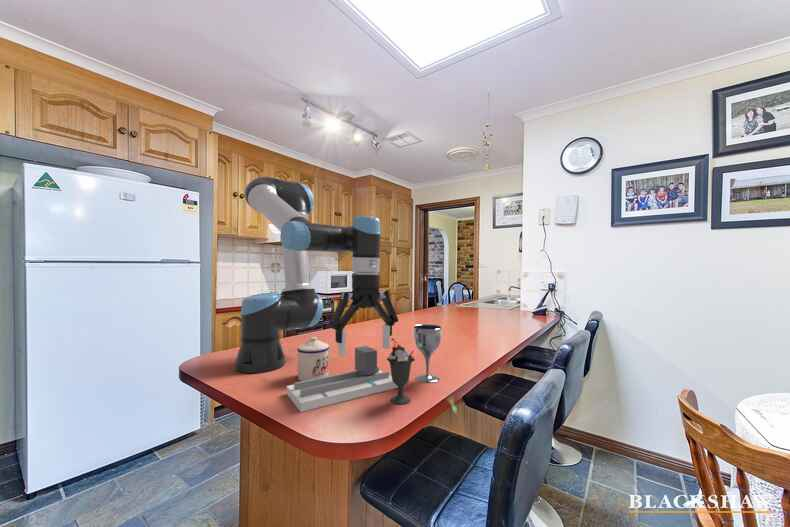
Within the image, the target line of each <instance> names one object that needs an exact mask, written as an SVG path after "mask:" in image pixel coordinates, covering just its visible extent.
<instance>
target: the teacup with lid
mask: <svg viewBox="0 0 790 527" xmlns="http://www.w3.org/2000/svg"><path fill="white" fill-rule="evenodd" d="M330 354H331V352H330V346H329V344H328V343H326V342H323V341H321V340H318V337H317V336H311V337H309V340H307V341H306V342H304V343H301V344H300V345H298V346H297V379H298V380H299V381H305V380H311V379H316V378H321V377H326V376H329V359H330Z"/></svg>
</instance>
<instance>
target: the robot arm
mask: <svg viewBox="0 0 790 527" xmlns="http://www.w3.org/2000/svg"><path fill="white" fill-rule="evenodd" d="M244 199H245V201H246V203H247V205H248V206H249V207H250V208H251V209H252V210H253V211H255V212H257V213H261V214H262V215H263V216H264V217H265V218H266V219H267V220H268V221H269V222H270V223H271V224H272V225H273V226H274V228H276V229H278V231H279V233H280V241H281V246H282V247H281V248H282V260H283V271H284V272H283V273H284V287H283V289H282V290H281V293H280V292H276V291H275V292H274V291H273V292H264V293H258V294H253V295H249V296H246V297H244V298H243V300H242V301H241V310H240V324H241V325H240V328H241V329H240V339H241V340H240V346H239V349H238V353H237V355H236V358H235V361H234V370H235V371H236V372H239V373H243V374H244V373H245V374H246V373H247V374H250V373H251V374H257V373H258V374H259V373H265V372H271V371H276V370H277V369H280V368H281V367H284V366H285V365H286V355H285V352H284V349H283V346H282V344H281V340H280V339H281V334H280V333H281V331H288V330H295V329H304V328H305V329H306V328H308V327H312V326H315V325H317V324H318V323H319V321H320V320H321V318H322V315H323V310H324V303H323V299H322V296H321V295H320V294H317V293H316V289H315V287H314V286H312V285H311V281H310V279H311V278H310V269H309V268H310V267H309V255H308V252H331V253H336V254H339V253H340V254H342V253H343V254H344V253H352V256H351V257H352V258H351V259H352V260H351V261H352V264H351V265H352V266H351V271H352V272H353V274H352V275H351V288H352V290H351V292H347V291H341V293H340V298H339V301H338V303H337V306H336V308H335V309H334V311H333V314H332V317H331V318H330V321H329V323H328V324H327V325H328V327H329V329H332V330H335V339H334V340H335V342H336V343H337V344H338V346H337V347H338V348H337V349H338V350H337V351H338V353H337V354H338V355H340V356H341V357H346V340H347V338H346V335H347V334H346V332H347V331H346V330H344V328H345V327H346V326H347V324H348V323H349V322H350V321H351V319H352V317H354V315H355V313H357V311H359V310H360V309H366V308H369V309H372V308H373V309H374V310H375V312H376V313H377V314H378V316H380V318H381V319H382V321H383V322H384V323H383V324H382V348H384V349H386V350H389V349H390V348H391V347H390V344H391V343H390V342H391V337H392V335H393V326H395V323H398V322H399V318H398V316H397V313H396V311H395V308H394V306H393V303H392V301H391V299H390V291H389V290H385V289H382V290H381V291H380V285H381V282H380V280H381V279H380V277H381V275H380V274H379V273H380V268H381V267H380V266H381V264H380V263H381V258H380V257H381V234H382V232H381V220H380V219H379V218H378V217H376V216H371V215H370V216H369V215H368V216H367V215H357V216H355V217H354V218H353V219H352V224H351V225H350V226H340V225H332V224H331V225H330V224H323V223H322V224H321V223H315V222H311V221H310V220H308V218H309V215H310V214H311V213H312V211H313V209H314V207H313V206H314V204H315V200H314V195H313V192H312V190H311V189H310V187H309V186H308V185H306V184H303V183H300V182H298V181H290V180H286V179H280V178H277V177H276V178H275V177H271V176H259V177H257V178H255V179H252V180H251V181H250V182H249V183H248V184H247V185H246V186H245V189H244ZM351 299H352V301H351V302H350V304H349V307H348V308H347V305H348V302H349V301H350V300H351ZM379 299H381V301H382V303H383V306H384V308H385V309H384V308H383V307H382V304H381V303H380V302H379ZM346 308H347V310H346V311H345V309H346ZM385 310H386V311H385Z"/></svg>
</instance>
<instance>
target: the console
mask: <svg viewBox="0 0 790 527" xmlns="http://www.w3.org/2000/svg"><path fill="white" fill-rule="evenodd" d="M394 389H398V386H397V385H396V384H395V383H394V382H393V380H392V375H390V373H389V371H388V370H385V371H381V370H380V366H378V365H377V373H375V374H371V375H366V376H362V377H357V370H352V371H346V372H341V373H337V374H333V375H332V374H331V375H328V376H326V377H321V378H316V379H311V380H305V381H301V380H299V381H296V382H293V384H290V385H286V395H287V396H288V398H289V399H290V400H291V401H292V403H293V404H294V405H295V407H296V408H297V409H298V410H299V411H300V413H302V412H307V411H310V410H311V411H312V410H314V409H317V408H322V407H326V406H330V405H334V404H338V403H342V402H346V401H350V400H354V399H358V398H362V397H366V396H371V395H374V394H378V393H381V392H385V391H390V390H394Z"/></svg>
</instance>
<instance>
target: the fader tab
mask: <svg viewBox="0 0 790 527" xmlns="http://www.w3.org/2000/svg"><path fill="white" fill-rule="evenodd" d="M377 366H378V350H376V349H375V348H372V347H370V346H368V345H364V346H357V347H354V371H356V370H357V377H362V376H366V375H371V374H375V373H377Z"/></svg>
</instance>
